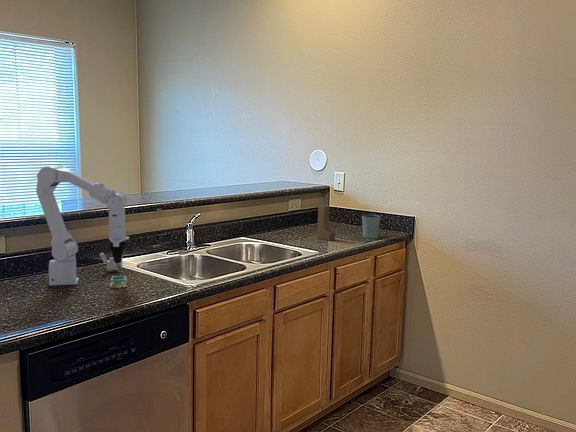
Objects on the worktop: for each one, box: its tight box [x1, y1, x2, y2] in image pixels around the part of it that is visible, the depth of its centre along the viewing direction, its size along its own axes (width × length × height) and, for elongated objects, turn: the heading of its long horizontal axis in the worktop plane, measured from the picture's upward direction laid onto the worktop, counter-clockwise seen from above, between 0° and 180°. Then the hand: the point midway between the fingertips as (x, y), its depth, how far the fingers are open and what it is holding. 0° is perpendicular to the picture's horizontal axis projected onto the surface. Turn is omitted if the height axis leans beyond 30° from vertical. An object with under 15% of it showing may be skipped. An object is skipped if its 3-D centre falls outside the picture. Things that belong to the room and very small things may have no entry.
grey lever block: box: [99, 252, 119, 272], centre depth 227 cm, size 7×2×8 cm, turn 133°
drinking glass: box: [361, 214, 381, 239], centre depth 312 cm, size 10×10×12 cm
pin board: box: [109, 275, 128, 289], centre depth 209 cm, size 6×9×2 cm, turn 13°
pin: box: [114, 258, 123, 269], centre depth 208 cm, size 3×3×7 cm
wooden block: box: [316, 204, 336, 242], centre depth 302 cm, size 9×4×18 cm, turn 47°
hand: (118, 261), depth 208 cm, fingers closed on pin, 3 cm apart
